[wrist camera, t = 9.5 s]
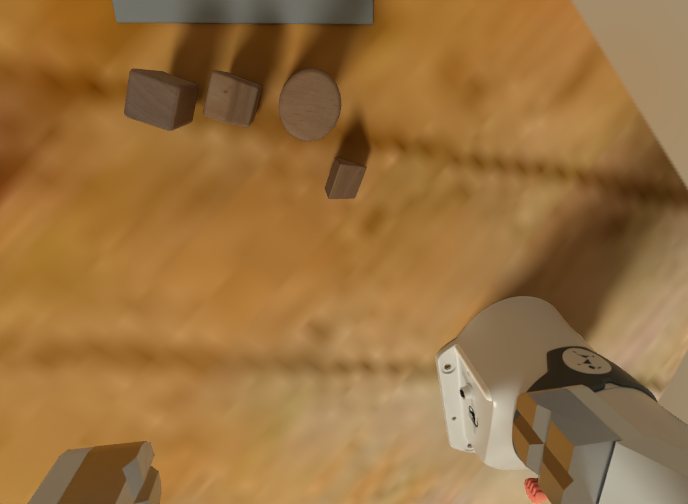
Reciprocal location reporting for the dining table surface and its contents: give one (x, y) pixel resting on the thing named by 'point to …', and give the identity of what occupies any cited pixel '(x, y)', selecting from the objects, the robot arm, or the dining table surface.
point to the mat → (245, 11)
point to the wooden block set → (247, 110)
